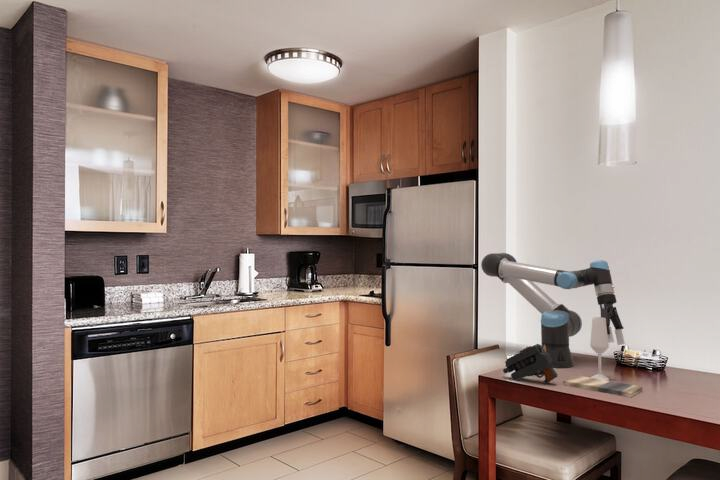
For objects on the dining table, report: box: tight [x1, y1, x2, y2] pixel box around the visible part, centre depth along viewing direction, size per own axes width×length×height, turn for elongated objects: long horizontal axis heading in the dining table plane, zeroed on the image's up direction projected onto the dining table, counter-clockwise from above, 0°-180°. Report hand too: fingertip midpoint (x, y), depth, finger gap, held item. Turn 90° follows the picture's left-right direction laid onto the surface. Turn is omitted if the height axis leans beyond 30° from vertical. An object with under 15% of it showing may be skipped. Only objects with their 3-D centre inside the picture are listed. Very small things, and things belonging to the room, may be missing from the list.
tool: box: [502, 343, 559, 385], centre depth 202 cm, size 6×19×15 cm
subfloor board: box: [562, 374, 643, 398], centre depth 191 cm, size 24×12×2 cm, turn 44°
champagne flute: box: [590, 316, 610, 381], centre depth 206 cm, size 7×7×24 cm
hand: (616, 343), depth 221 cm, fingers open, 13 cm apart
